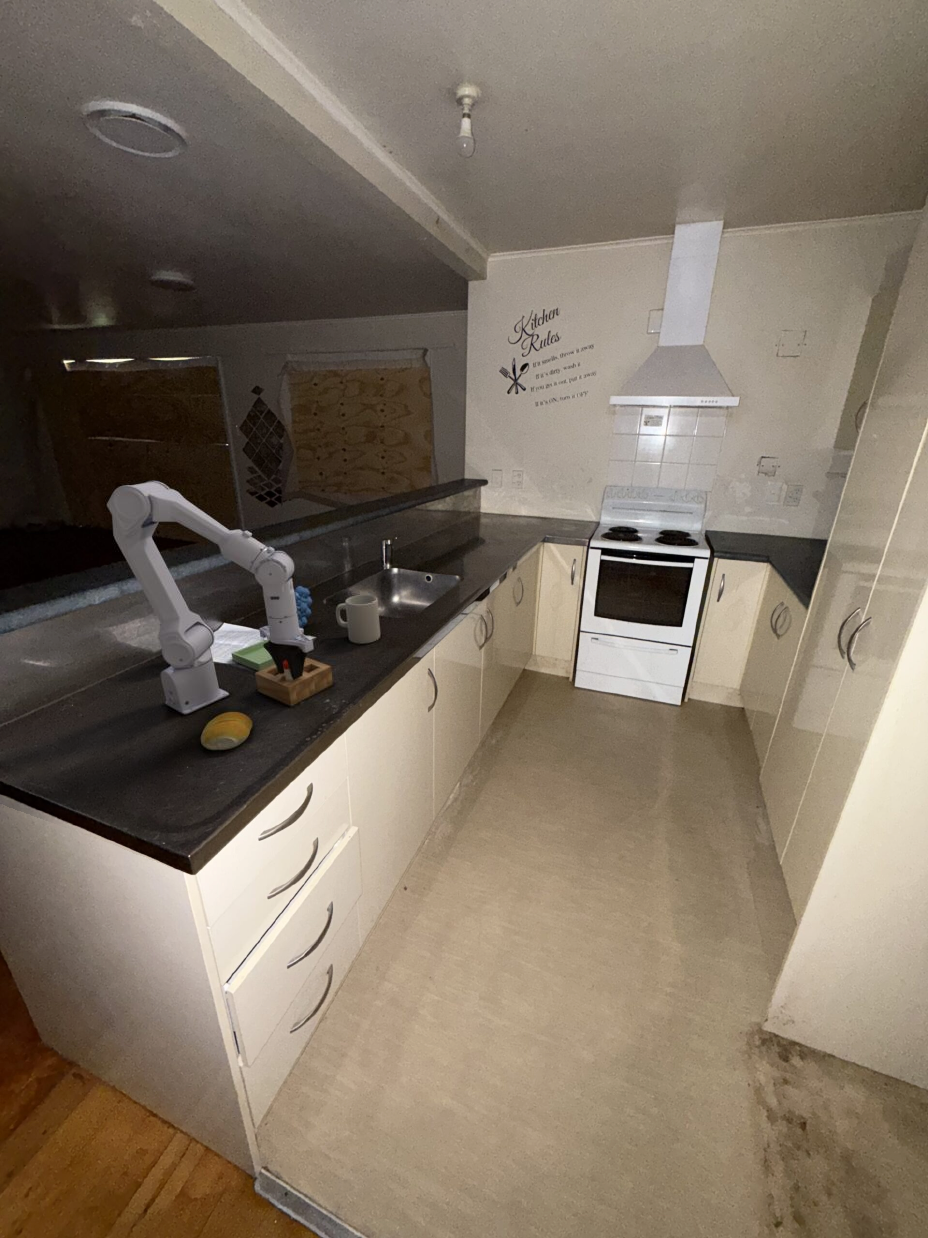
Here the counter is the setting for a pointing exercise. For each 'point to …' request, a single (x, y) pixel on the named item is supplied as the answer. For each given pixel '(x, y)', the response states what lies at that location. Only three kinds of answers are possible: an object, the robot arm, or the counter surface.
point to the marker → (287, 672)
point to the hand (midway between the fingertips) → (291, 674)
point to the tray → (254, 656)
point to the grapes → (302, 605)
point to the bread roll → (226, 731)
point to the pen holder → (294, 682)
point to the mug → (361, 618)
